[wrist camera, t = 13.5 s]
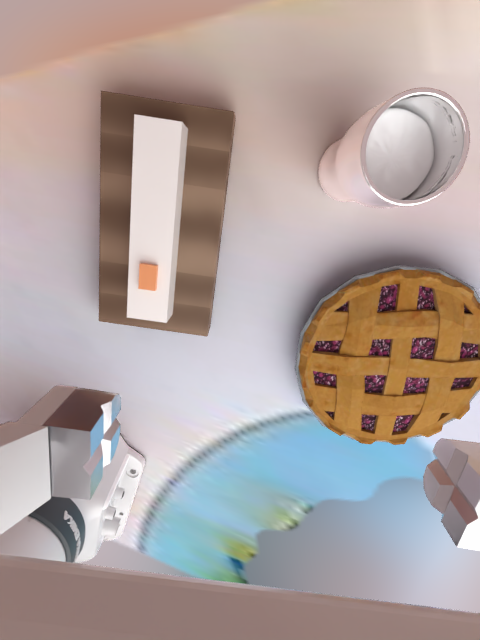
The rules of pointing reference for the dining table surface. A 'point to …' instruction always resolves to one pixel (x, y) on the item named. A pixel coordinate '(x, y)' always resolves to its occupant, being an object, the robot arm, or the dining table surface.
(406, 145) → the beer glass
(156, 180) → the power strip
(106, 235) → the socket board
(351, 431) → the pie
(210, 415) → the dining table surface
